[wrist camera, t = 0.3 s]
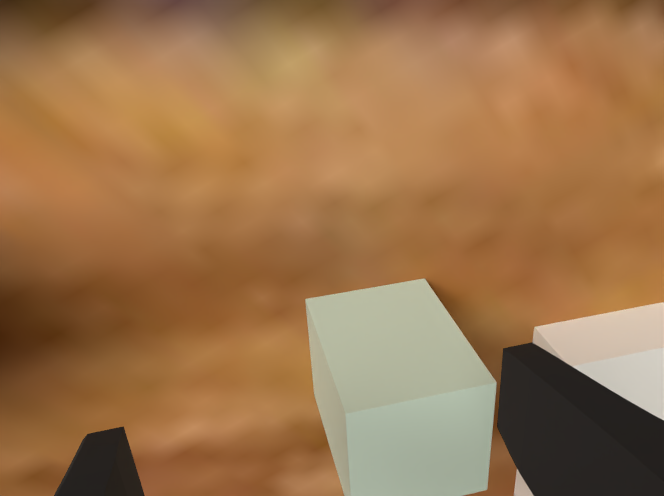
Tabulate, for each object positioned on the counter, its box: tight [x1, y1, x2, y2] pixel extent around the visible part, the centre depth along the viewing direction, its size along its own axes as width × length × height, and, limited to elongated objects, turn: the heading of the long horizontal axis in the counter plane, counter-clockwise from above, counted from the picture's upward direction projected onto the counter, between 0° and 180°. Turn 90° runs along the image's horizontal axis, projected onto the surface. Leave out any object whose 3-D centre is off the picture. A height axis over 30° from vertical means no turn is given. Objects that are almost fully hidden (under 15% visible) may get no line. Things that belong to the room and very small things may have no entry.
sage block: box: [305, 279, 497, 496], centre depth 21 cm, size 4×4×6 cm
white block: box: [514, 302, 664, 496], centre depth 28 cm, size 10×10×3 cm
